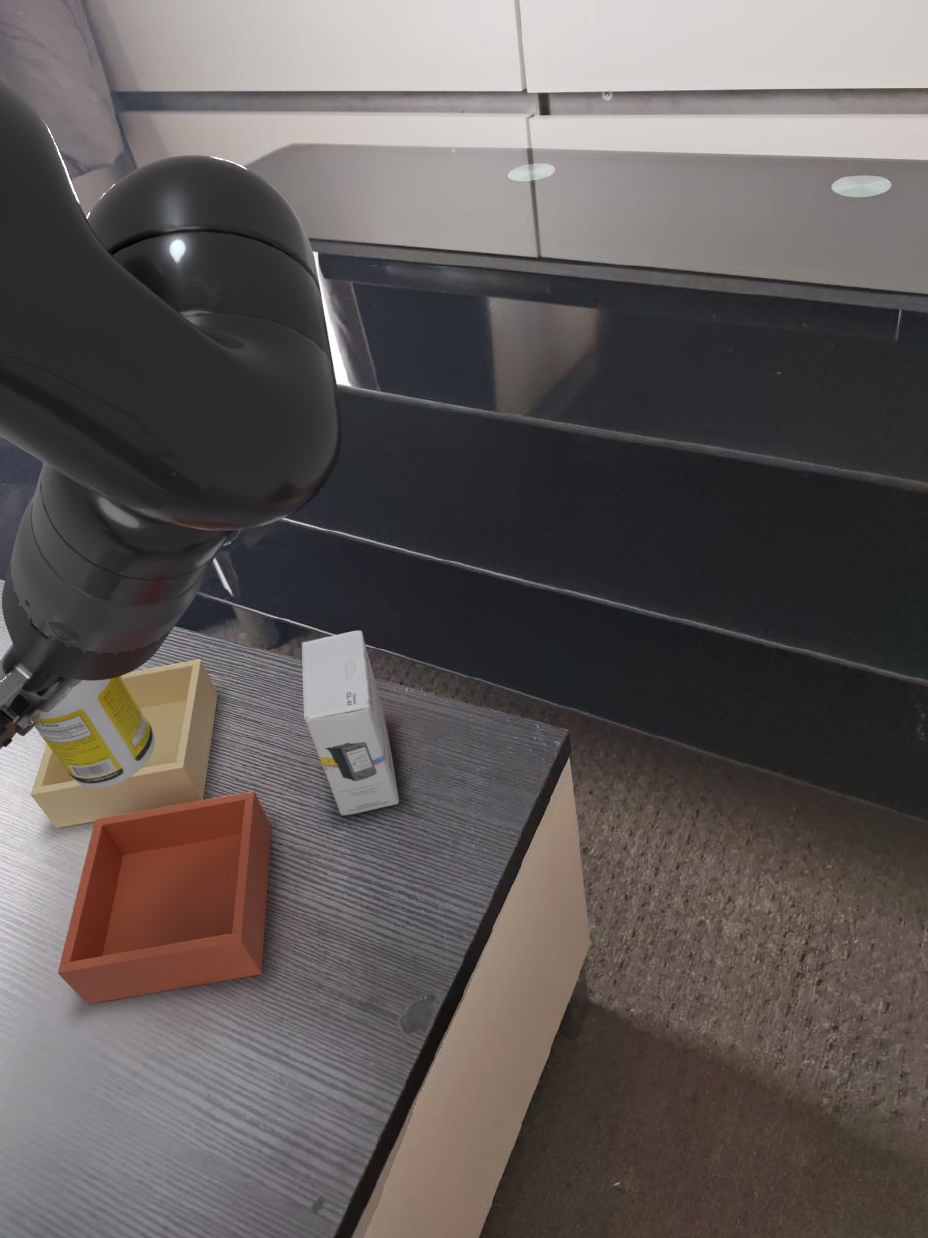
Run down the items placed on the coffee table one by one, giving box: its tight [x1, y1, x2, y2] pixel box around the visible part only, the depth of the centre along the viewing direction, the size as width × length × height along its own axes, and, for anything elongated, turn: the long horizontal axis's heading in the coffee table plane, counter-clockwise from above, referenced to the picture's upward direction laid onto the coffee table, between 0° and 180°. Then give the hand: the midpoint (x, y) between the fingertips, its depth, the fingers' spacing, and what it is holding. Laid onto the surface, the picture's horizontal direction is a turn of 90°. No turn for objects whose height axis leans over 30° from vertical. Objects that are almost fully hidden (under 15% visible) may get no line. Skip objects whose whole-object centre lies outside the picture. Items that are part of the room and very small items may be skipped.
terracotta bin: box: [57, 790, 273, 1005], centre depth 66 cm, size 12×12×5 cm
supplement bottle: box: [3, 639, 155, 788], centre depth 53 cm, size 5×5×10 cm
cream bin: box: [30, 658, 219, 829], centre depth 78 cm, size 12×12×5 cm
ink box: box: [301, 630, 400, 817], centre depth 71 cm, size 9×5×12 cm, turn 9°
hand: (52, 684), depth 53 cm, fingers closed on supplement bottle, 5 cm apart
